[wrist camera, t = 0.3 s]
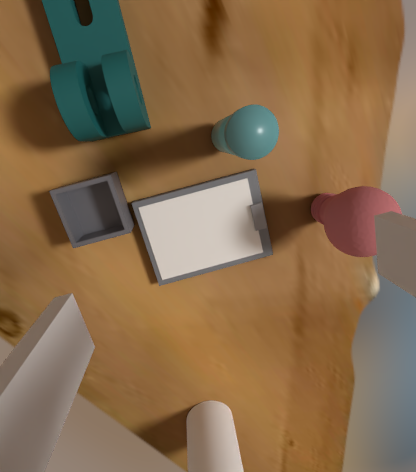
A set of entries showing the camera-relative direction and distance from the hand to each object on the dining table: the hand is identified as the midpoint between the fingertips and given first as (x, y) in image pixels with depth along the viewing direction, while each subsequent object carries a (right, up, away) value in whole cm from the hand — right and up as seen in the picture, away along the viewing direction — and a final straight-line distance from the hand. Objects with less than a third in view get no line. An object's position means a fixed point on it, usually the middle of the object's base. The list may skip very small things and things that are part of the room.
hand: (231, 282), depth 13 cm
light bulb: (+14, +6, +26) cm, 30 cm away
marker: (+1, +14, +23) cm, 26 cm away
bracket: (-13, +22, +19) cm, 32 cm away
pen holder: (-14, +6, +24) cm, 28 cm away
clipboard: (-1, +3, +26) cm, 26 cm away
